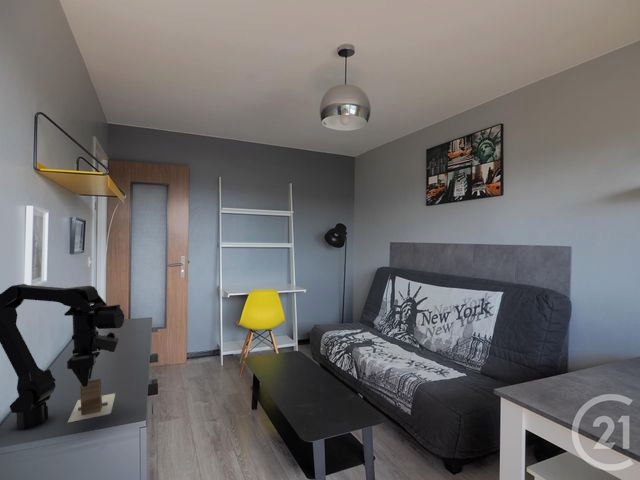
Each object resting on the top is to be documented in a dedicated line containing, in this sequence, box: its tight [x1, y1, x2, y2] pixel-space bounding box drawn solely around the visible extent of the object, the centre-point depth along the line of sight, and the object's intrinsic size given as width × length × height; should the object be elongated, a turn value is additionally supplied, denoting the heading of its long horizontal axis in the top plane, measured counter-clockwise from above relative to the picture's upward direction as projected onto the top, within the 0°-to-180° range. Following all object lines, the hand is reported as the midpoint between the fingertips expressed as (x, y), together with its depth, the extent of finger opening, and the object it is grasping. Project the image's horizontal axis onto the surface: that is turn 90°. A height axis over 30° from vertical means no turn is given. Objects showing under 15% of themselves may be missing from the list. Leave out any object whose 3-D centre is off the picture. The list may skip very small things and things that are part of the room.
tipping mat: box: [67, 392, 116, 423], centre depth 118 cm, size 17×11×2 cm, turn 25°
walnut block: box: [79, 378, 103, 416], centre depth 114 cm, size 4×5×9 cm
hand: (86, 382), depth 108 cm, fingers open, 6 cm apart
